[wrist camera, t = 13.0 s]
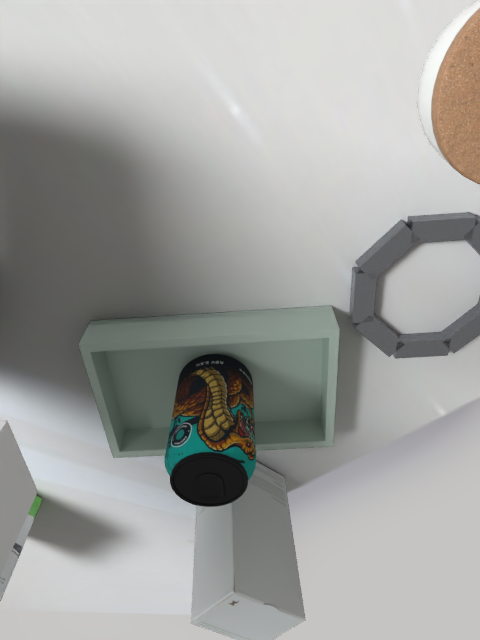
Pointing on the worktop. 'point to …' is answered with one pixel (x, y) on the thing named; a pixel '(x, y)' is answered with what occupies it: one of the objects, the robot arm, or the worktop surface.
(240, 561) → the skincare box
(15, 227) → the worktop surface
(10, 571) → the ink box
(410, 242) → the socket collar
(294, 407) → the tray bin
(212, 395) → the beverage can
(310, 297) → the worktop surface
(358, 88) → the worktop surface
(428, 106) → the lidded jar
